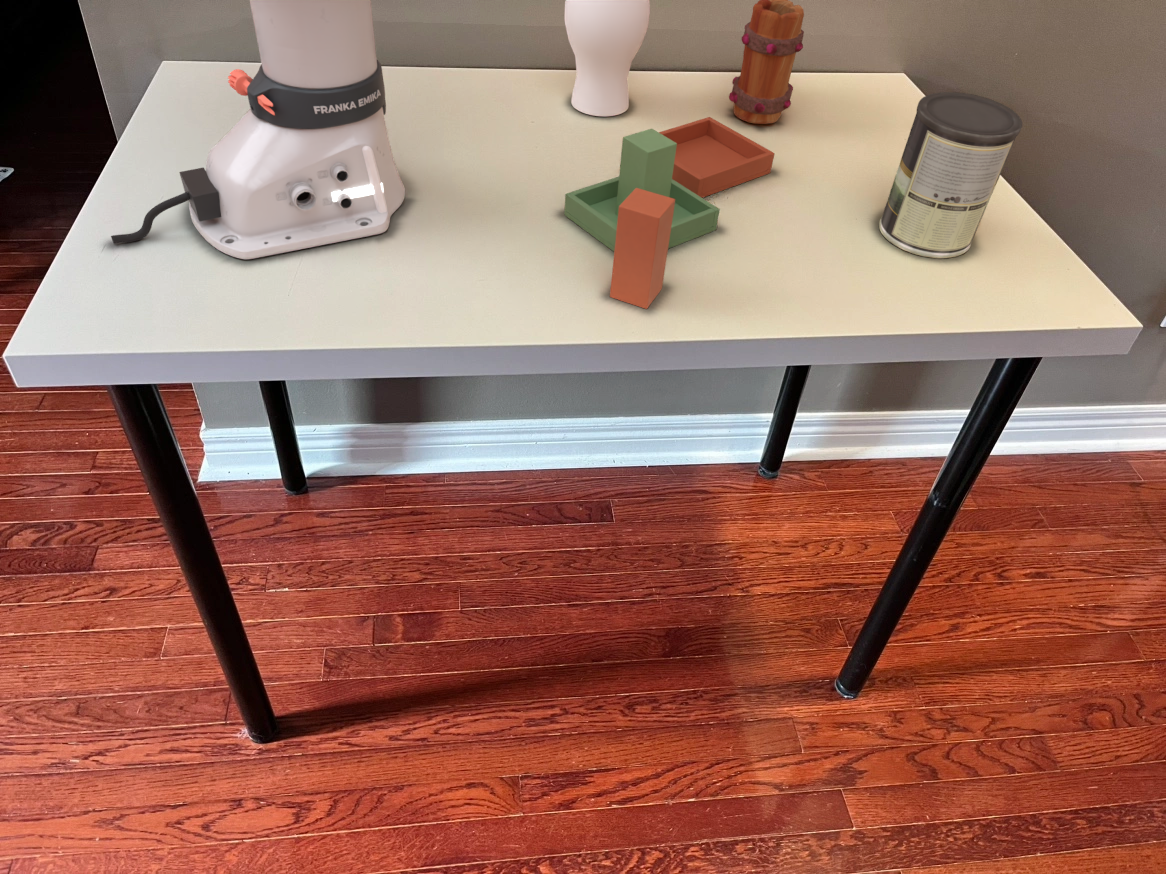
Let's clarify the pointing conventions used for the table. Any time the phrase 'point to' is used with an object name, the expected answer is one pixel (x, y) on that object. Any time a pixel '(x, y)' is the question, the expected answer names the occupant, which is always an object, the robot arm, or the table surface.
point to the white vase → (604, 51)
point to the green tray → (600, 220)
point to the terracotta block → (641, 247)
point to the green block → (646, 164)
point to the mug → (768, 61)
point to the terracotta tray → (715, 157)
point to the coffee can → (948, 173)
